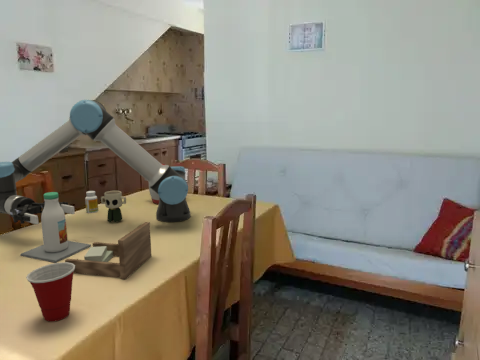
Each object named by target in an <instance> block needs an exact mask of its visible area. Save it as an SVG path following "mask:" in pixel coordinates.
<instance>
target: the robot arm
mask: <svg viewBox="0 0 480 360" xmlns="http://www.w3.org/2000/svg"><path fill="white" fill-rule="evenodd" d="M68 117H69V118H68V120H67V121H66V122H65V123H64V124H62V125H61V126H59V127H58V128H57V129H55V130H54V131H52V132H51V133H50V134H48V135H47V136H46V137H44V138H43V139H41V140H40V141H39V142H38V143H36V144H35V145H33V146H32V147H31V148H29V149H28V150H26V151H25V152H24V153H23V154H21V155H20V156H18V157H17V158H15V159H14V160H13V161H0V214H6V215H9V216H10V217H11V218H12V219H13V220H12V221H13V223H14V224H15V223H19V221H20V224H21V225H22V224H25V223H31V224H33V225H39V224H40V223H39V217H38V216H39V215H38V214H42V212H43V209H44V206H45V201H43V202H36V201H35V200H34V199H33V198H30V197H27V196H22V195H18V194H17V193H18V192H17V185H16V184H17V183H18V182H19V181H22V180H23V179H25V178H26V177H27V176H28V175H29V174H31V173H32V172H33V171H36V169H37V168H39V167H40V166H42V165H43V164H44V163H46V162H47V161H48V160H50V159H51V158H53V157H54V156H55V155H57V154H58V153H59V152H61V151H62V150H63V149H65V148H66V147H68V146H69V145H70V144H72V143H73V142H75V141H76V140H77V139H78V138H80V137H81V136H88V138H90V139H91V140H92V141H94V142H101V143H102V144H103V145H105V146H106V147H107V148H108V149H109V150H111V152H113V154H115V155H116V156H118V157H119V158H120V159H121V160H122V161H124V162H125V163H126V164H127V165H128V166H129V167H131V169H133V170H134V171H136V172H137V173H138V174H139V175H140V176H141V177H142V178H143V179H144V180H145V179H146V180H145V181H147V183H148V188H149V187H150V188H151V189H152V190H153V191H155V192H156V193H157V194H158V195H159V204H157V205H158V206H157V209H156V213H155V214H156V215H155V218H156V220H157V221H159V222H162V223H163V222H164V223H165V222H166V223H175V222H176V223H178V222H182V221H186V220H188V219H190V218H191V210H190V207H189V205H188V201H187V196H188V193H189V192H188V191H189V186H188V182H187V180H186V169H185V166H180V165H179V166H178V165H177V166H170V165H169V164H165V165H162V164H163V163H161V162H160V161H158V159H156V158H155V157H154V156H153V155H152V154H150V153H149V152H148V151H147V150H146V149H144V147H142V146H141V145H140V144H139V143H137V141H135V140H134V138H132V137H131V136H130V135H128V133H126V132H125V131H124V130H123V129H121V128H120V127H119V126H118V125H117V124H116V120H115V117H114V116H112V115H111V114H110V112H108V111H107V109H106V108H105V106H104V105H103V103H101V102H99V101H97V100H93V99H82V100H79V101H78V102H76V103H75V104H73V106H72V107H71V109H70V111H69V116H68ZM58 202H59V204H60V206H61V208H62V209H63V211H64V214H69V215H75V206H73V205H70V204H69V202H67V201H63V202H61V201H58Z"/></svg>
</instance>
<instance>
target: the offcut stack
mask: <svg viewBox="0 0 480 360" xmlns="http://www.w3.org/2000/svg"><path fill="white" fill-rule="evenodd" d="M113 257H114V256H113V251H107V246H101V247H93V246H91V247H89V248H88V250H87V251H86V253H85V255H84V259H83V260H89V261H101V262H110V261H111V260H112V259H113Z"/></svg>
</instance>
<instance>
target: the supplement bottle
mask: <svg viewBox="0 0 480 360" xmlns="http://www.w3.org/2000/svg"><path fill="white" fill-rule="evenodd" d="M84 200H85V201H84V202H85V212H86V214H94V213H98V212H99V205H98V196H97V195H96V191H95V190H88V191H86V197H85V198H84Z"/></svg>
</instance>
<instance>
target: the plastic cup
mask: <svg viewBox="0 0 480 360" xmlns="http://www.w3.org/2000/svg"><path fill="white" fill-rule="evenodd" d="M74 269H75V265H74V264H73V263H68V262H65V261H63V262H61V261H60V262H57V263H54V262H53V263H50V264H49V263H48V264H46V265H43V266H41V267H37V268H35V269H34V270H32V271H30V272H29V273H28V274H27V275H26V276H25V277H26V280H27V282H29V283H30V285H31V287H32V289H33V291H34V295H35V298H36V300H37V302H38V307H39V309H40V312H41V314H42V317H43V319H44V320H45V321H46V322H58V321H60V320H64V319H65V318H68V316H69V314H70V311H71V301H72V293H73V292H72V291H73V280H74V273H73V272H74Z"/></svg>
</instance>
